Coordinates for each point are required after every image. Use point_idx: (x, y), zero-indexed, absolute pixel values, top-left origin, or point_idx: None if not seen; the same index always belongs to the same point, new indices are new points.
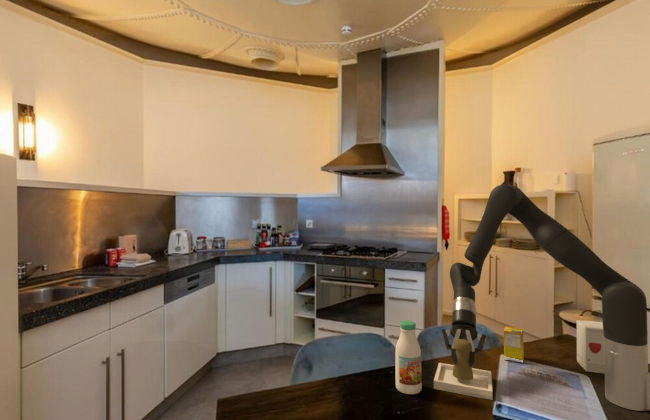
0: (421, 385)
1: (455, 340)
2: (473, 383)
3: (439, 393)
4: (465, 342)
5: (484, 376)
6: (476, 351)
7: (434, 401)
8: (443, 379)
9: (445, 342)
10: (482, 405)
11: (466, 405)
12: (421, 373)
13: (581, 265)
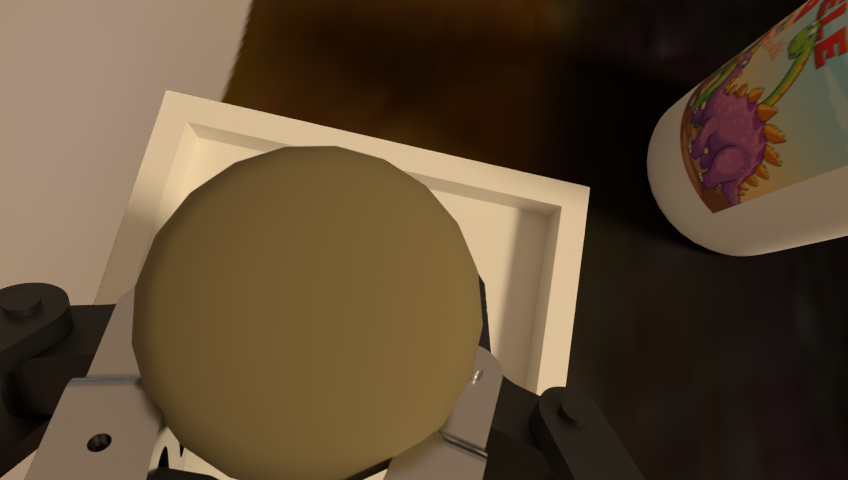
0: (663, 139)
1: (447, 444)
2: None
3: (530, 149)
4: (266, 200)
5: None
6: (98, 311)
7: (562, 51)
8: (501, 310)
9: (619, 448)
10: (278, 49)
11: (379, 35)
12: (720, 109)
13: None
